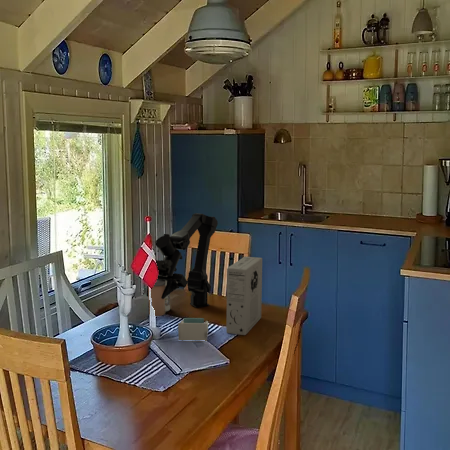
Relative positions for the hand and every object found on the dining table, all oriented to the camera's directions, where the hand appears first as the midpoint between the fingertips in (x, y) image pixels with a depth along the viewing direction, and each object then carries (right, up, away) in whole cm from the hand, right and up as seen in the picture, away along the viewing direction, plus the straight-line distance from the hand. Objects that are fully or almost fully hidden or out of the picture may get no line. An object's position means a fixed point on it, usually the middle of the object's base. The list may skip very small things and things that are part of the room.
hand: (154, 297), depth 206 cm
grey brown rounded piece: (+1, -6, +2) cm, 7 cm away
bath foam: (0, -9, +26) cm, 28 cm away
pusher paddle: (+15, -12, -4) cm, 20 cm away
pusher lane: (+15, -14, -3) cm, 20 cm away
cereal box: (+34, -12, +8) cm, 37 cm away
